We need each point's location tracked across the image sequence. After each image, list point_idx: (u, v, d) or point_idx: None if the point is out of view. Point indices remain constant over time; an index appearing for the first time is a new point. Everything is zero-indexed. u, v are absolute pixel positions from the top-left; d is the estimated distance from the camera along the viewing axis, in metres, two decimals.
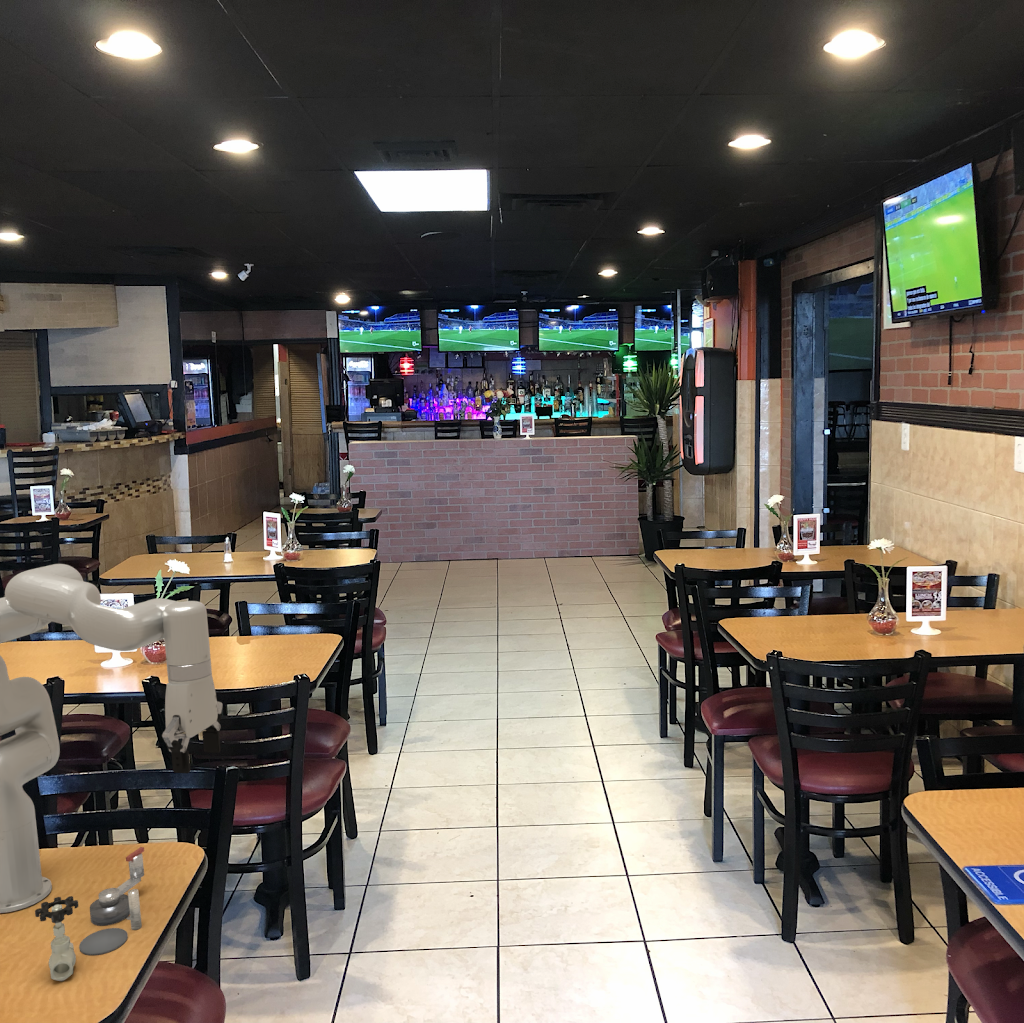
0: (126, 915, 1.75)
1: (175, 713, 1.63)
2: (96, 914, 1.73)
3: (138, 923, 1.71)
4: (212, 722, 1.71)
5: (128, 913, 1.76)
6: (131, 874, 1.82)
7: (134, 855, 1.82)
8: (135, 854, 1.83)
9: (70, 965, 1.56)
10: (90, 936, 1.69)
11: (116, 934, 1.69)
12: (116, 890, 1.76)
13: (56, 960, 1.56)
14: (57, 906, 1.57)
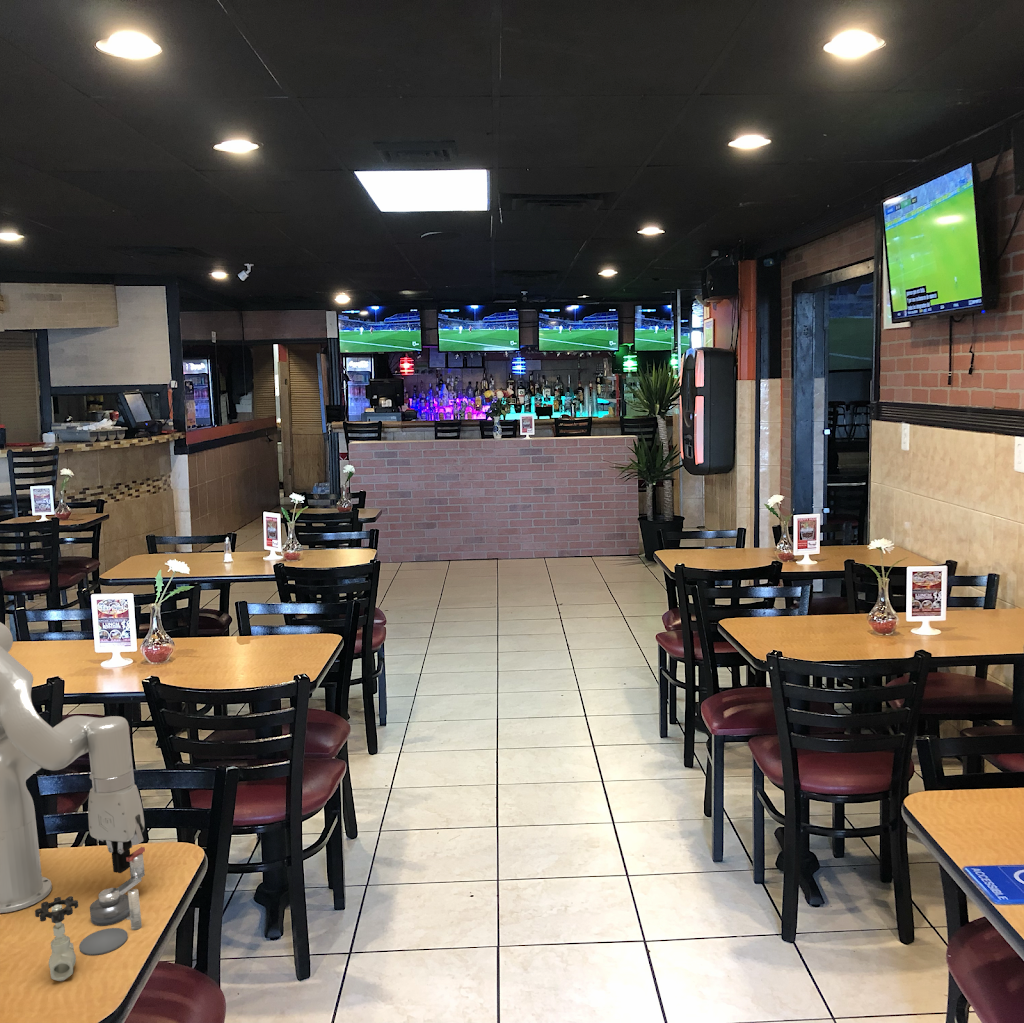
0: (126, 915, 1.75)
1: (136, 814, 1.81)
2: (96, 914, 1.73)
3: (138, 923, 1.71)
4: None
5: (128, 913, 1.76)
6: (131, 874, 1.82)
7: (134, 855, 1.82)
8: (135, 854, 1.82)
9: (70, 965, 1.56)
10: (90, 936, 1.69)
11: (116, 934, 1.69)
12: (116, 890, 1.76)
13: (56, 960, 1.56)
14: (57, 906, 1.57)
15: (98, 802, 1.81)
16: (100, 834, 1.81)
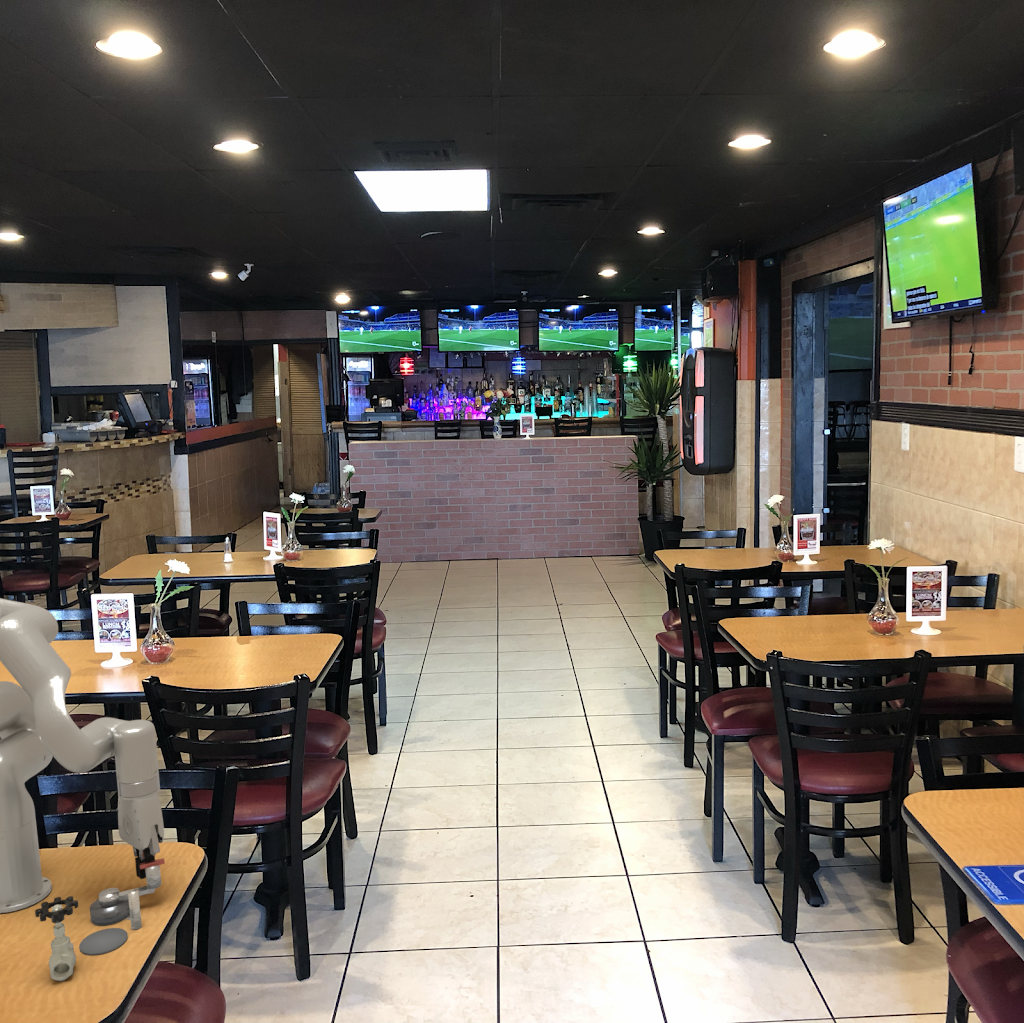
0: (126, 915, 1.75)
1: (153, 824, 1.77)
2: (96, 914, 1.73)
3: (138, 923, 1.71)
4: None
5: (128, 913, 1.76)
6: None
7: (148, 864, 1.78)
8: (150, 864, 1.78)
9: (70, 965, 1.56)
10: (90, 936, 1.69)
11: (116, 934, 1.69)
12: (114, 893, 1.75)
13: (56, 960, 1.56)
14: (57, 906, 1.57)
15: (122, 805, 1.79)
16: (124, 836, 1.80)
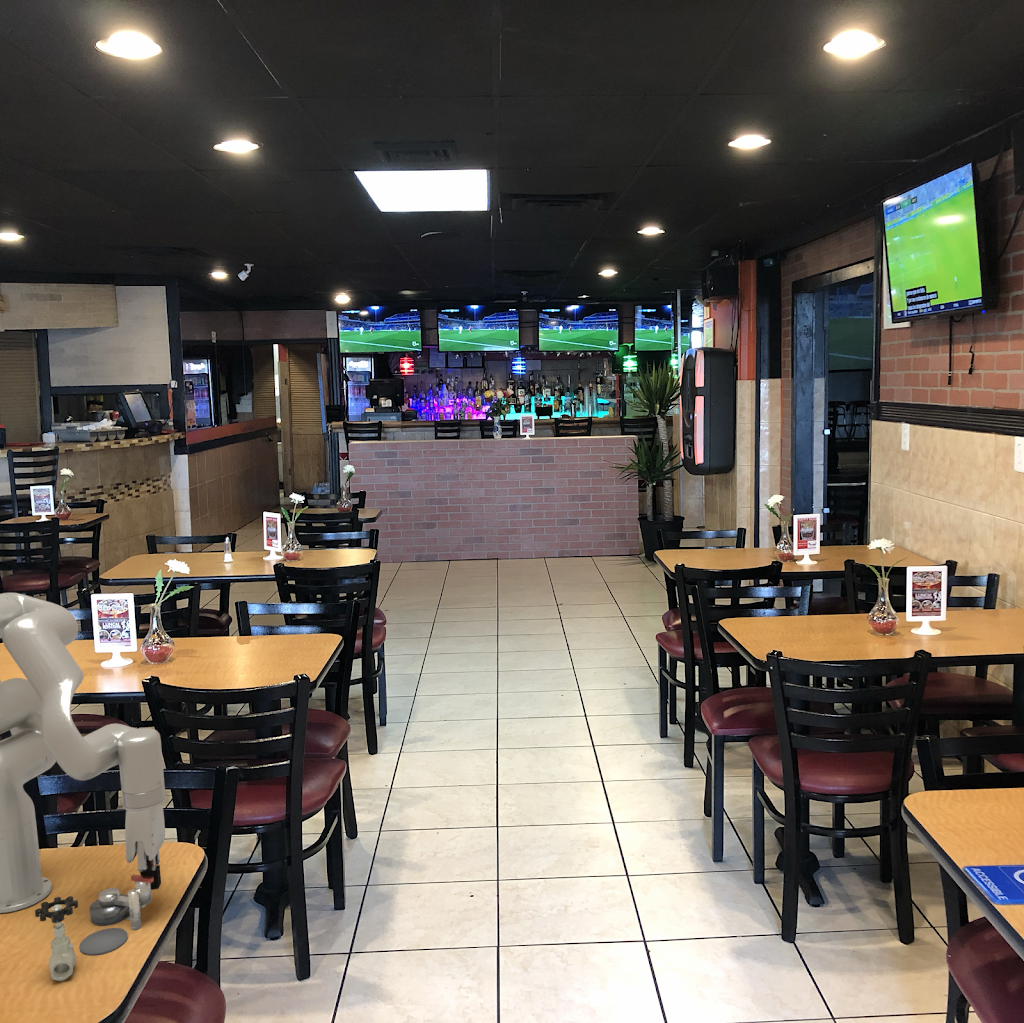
0: (126, 915, 1.75)
1: (137, 839, 1.71)
2: (96, 914, 1.73)
3: (138, 923, 1.71)
4: (163, 841, 1.79)
5: (128, 913, 1.76)
6: None
7: (137, 878, 1.73)
8: (139, 878, 1.73)
9: (70, 965, 1.56)
10: (90, 936, 1.69)
11: (116, 934, 1.69)
12: (109, 895, 1.75)
13: (56, 960, 1.56)
14: (57, 906, 1.57)
15: None
16: None
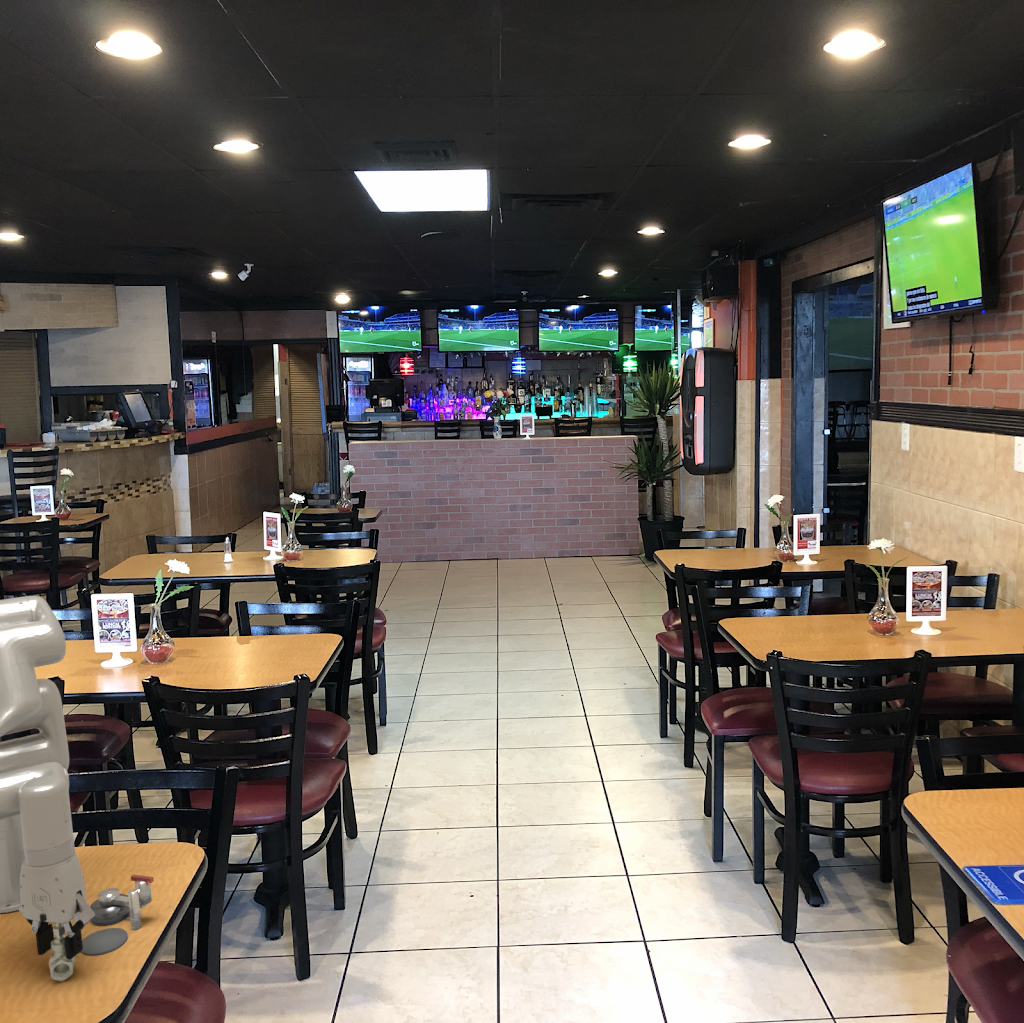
0: (126, 915, 1.75)
1: (77, 890, 1.56)
2: (96, 914, 1.73)
3: (138, 923, 1.71)
4: None
5: (128, 913, 1.76)
6: None
7: (137, 878, 1.73)
8: (138, 878, 1.73)
9: (70, 965, 1.56)
10: (90, 936, 1.69)
11: (116, 934, 1.69)
12: (109, 895, 1.75)
13: (56, 960, 1.56)
14: None
15: (31, 877, 1.55)
16: (33, 914, 1.55)
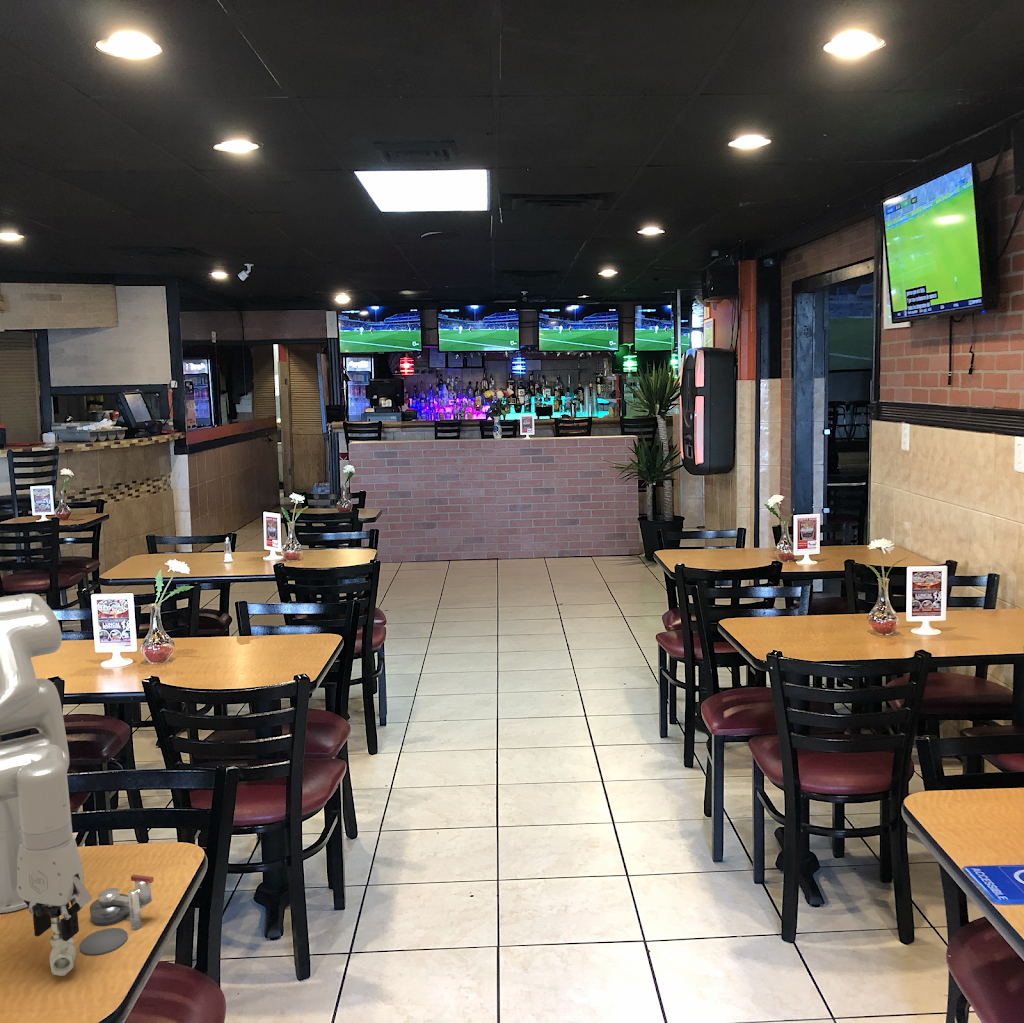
0: (126, 915, 1.75)
1: (74, 873, 1.56)
2: (96, 914, 1.73)
3: (138, 923, 1.71)
4: None
5: (128, 913, 1.76)
6: None
7: (137, 878, 1.73)
8: (138, 878, 1.73)
9: (70, 959, 1.56)
10: (90, 936, 1.69)
11: (116, 934, 1.69)
12: (109, 895, 1.75)
13: (56, 955, 1.56)
14: None
15: (29, 860, 1.55)
16: (30, 896, 1.56)
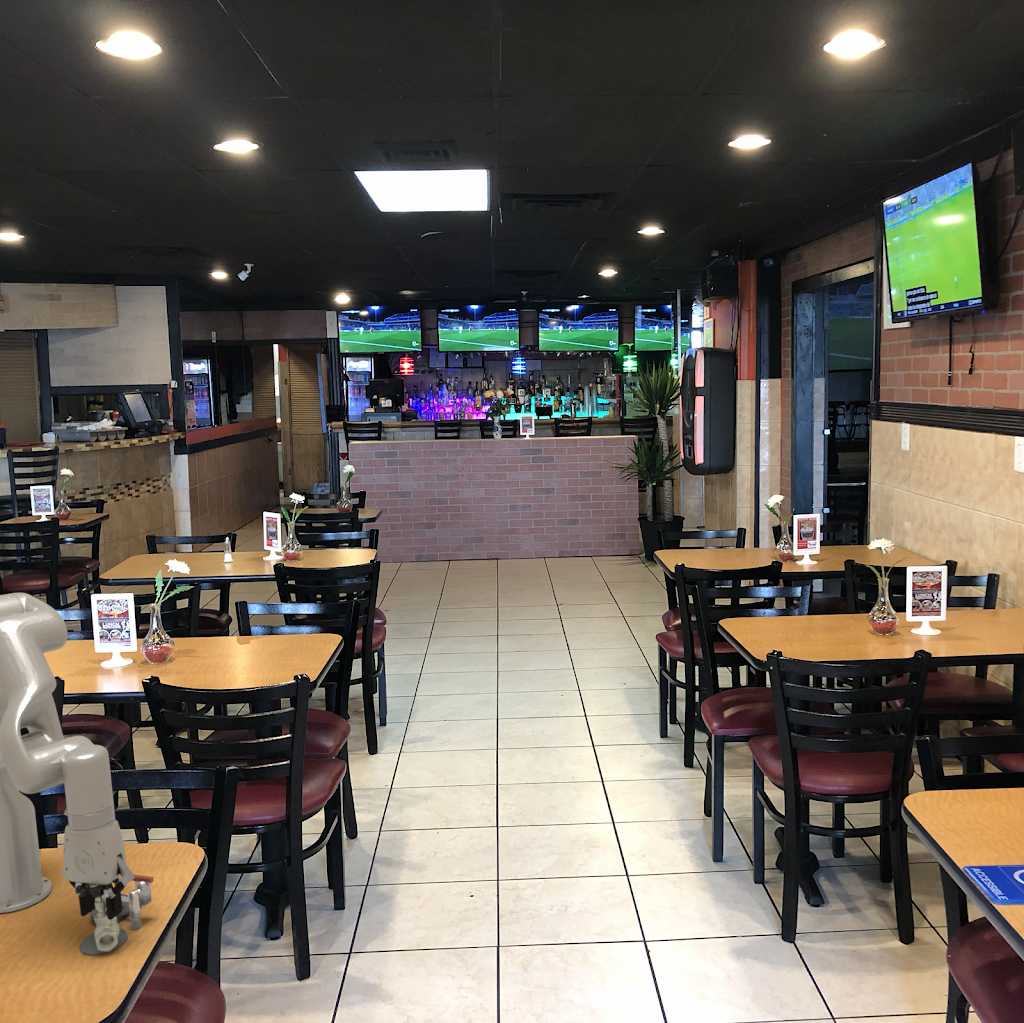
0: (126, 915, 1.75)
1: (118, 853, 1.64)
2: None
3: (138, 923, 1.71)
4: None
5: (128, 913, 1.76)
6: None
7: (137, 878, 1.73)
8: (138, 878, 1.73)
9: (114, 936, 1.63)
10: (90, 936, 1.69)
11: None
12: None
13: (100, 932, 1.63)
14: None
15: (75, 841, 1.63)
16: (77, 876, 1.63)
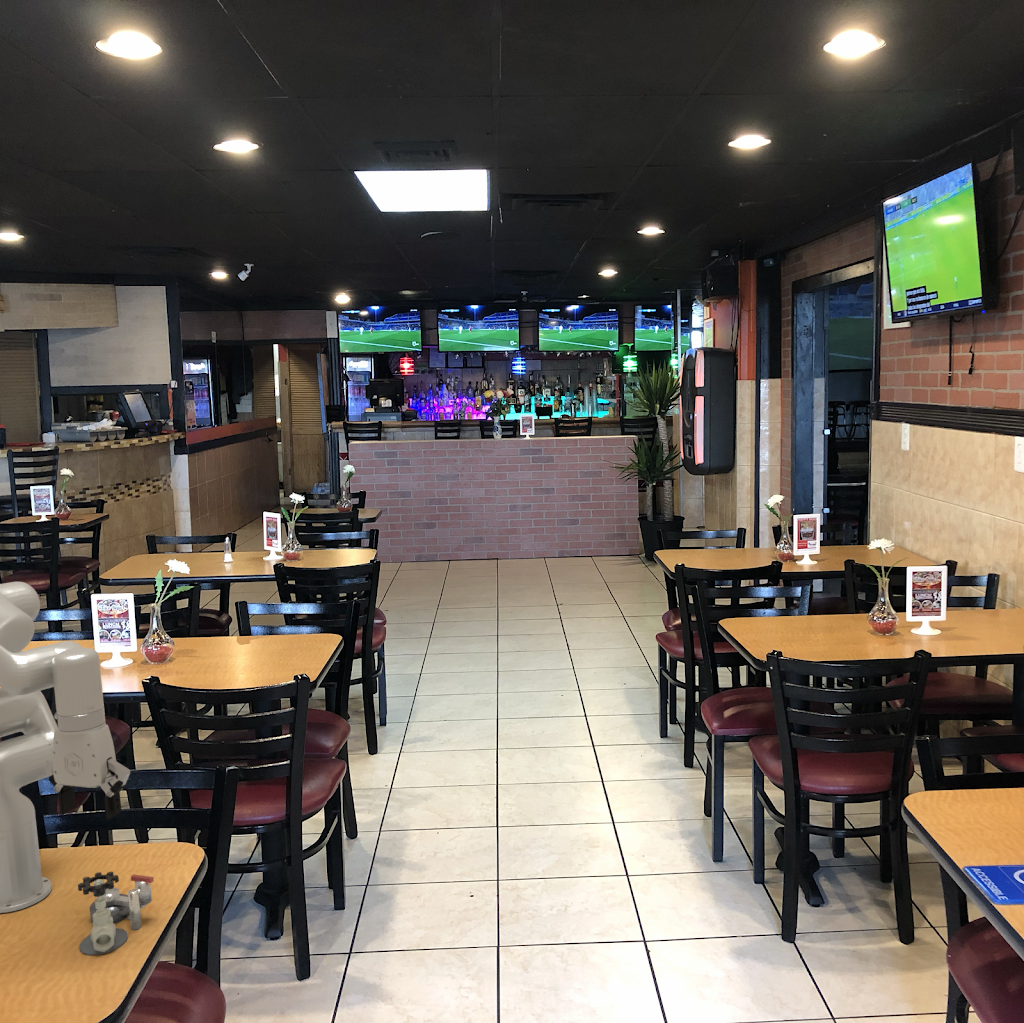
0: (126, 915, 1.75)
1: (108, 756, 1.62)
2: None
3: (138, 923, 1.71)
4: None
5: (128, 913, 1.76)
6: None
7: (137, 878, 1.73)
8: (138, 878, 1.73)
9: (112, 937, 1.63)
10: (90, 936, 1.69)
11: (116, 934, 1.69)
12: (109, 895, 1.75)
13: (98, 932, 1.63)
14: (99, 880, 1.65)
15: (64, 743, 1.61)
16: (66, 779, 1.62)
